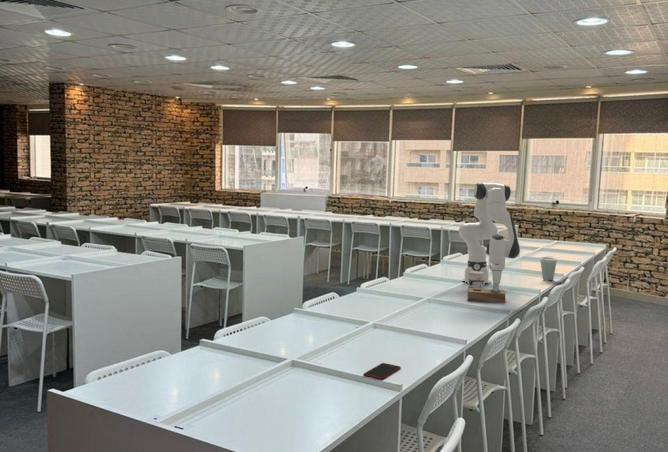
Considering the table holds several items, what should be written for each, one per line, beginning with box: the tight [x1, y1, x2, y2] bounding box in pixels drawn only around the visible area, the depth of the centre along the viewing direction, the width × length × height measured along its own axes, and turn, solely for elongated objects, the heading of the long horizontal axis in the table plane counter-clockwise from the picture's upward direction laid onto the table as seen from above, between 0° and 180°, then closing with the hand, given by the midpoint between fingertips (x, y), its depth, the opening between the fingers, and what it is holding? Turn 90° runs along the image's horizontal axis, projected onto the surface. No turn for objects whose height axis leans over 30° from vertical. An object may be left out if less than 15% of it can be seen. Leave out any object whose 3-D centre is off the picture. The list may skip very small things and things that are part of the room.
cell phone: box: [363, 362, 402, 381], centre depth 200 cm, size 8×15×1 cm, turn 147°
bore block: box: [467, 287, 506, 304], centre depth 319 cm, size 12×20×5 cm, turn 75°
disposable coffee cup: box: [540, 256, 558, 281], centre depth 380 cm, size 11×11×15 cm
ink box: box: [467, 271, 485, 289], centre depth 341 cm, size 8×5×12 cm, turn 62°
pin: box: [492, 283, 500, 292], centre depth 317 cm, size 3×3×8 cm
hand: (495, 289), depth 317 cm, fingers open, 8 cm apart
